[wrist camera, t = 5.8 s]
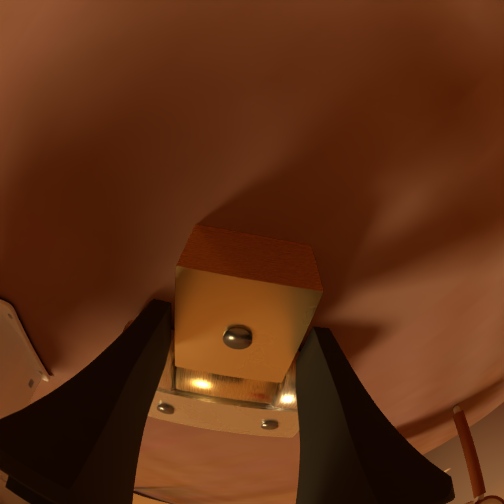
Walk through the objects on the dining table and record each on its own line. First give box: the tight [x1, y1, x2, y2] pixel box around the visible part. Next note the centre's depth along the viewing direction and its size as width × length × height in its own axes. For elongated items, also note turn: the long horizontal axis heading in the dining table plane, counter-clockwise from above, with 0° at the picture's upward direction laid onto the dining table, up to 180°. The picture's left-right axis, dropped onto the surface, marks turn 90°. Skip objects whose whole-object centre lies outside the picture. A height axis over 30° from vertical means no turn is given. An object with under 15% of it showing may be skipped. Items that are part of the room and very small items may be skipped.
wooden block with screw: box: [175, 224, 324, 403], centre depth 11 cm, size 8×4×3 cm, turn 170°
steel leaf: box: [122, 320, 301, 437], centre depth 14 cm, size 7×10×3 cm
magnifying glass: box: [453, 405, 504, 504], centre depth 11 cm, size 9×2×20 cm, turn 76°
